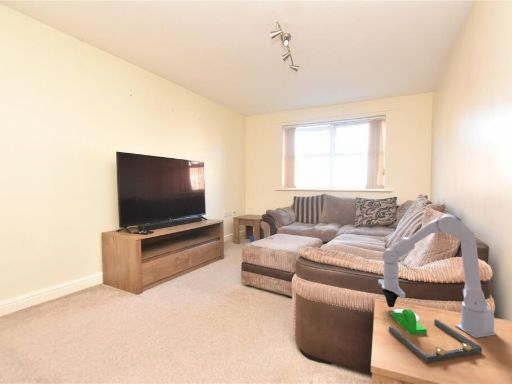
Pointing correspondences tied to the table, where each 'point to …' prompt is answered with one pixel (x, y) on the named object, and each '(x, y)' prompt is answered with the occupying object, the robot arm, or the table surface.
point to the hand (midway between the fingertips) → (390, 306)
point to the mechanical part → (409, 322)
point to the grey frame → (440, 354)
